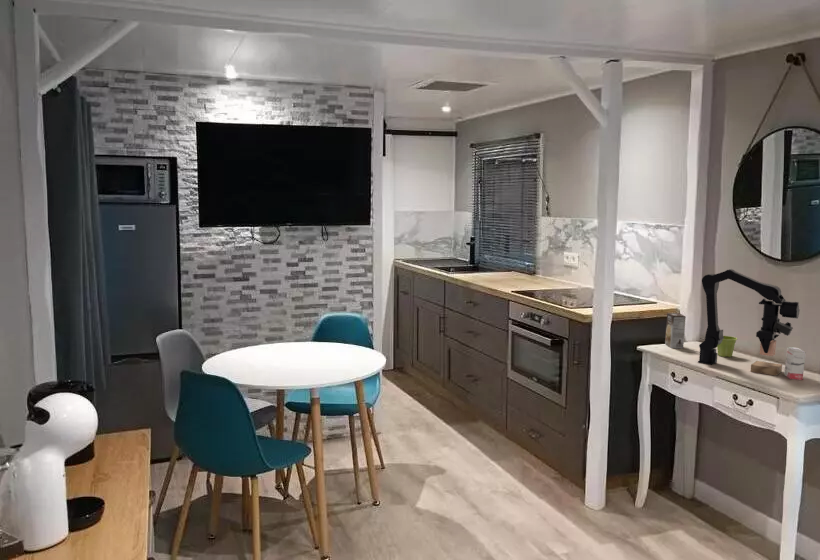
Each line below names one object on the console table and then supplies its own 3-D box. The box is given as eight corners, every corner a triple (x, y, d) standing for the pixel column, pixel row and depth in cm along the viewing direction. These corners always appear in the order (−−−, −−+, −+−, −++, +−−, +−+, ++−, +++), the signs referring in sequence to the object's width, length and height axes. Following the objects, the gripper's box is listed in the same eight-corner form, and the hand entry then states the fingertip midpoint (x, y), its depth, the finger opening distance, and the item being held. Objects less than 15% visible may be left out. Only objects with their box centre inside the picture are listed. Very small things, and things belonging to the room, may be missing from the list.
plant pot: (730, 359, 324) (731, 340, 323) (710, 355, 332) (711, 337, 331) (739, 356, 331) (740, 338, 330) (719, 352, 338) (720, 334, 337)
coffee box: (664, 344, 355) (666, 312, 353) (677, 344, 355) (679, 313, 353) (670, 348, 346) (673, 315, 344) (684, 348, 346) (686, 316, 344)
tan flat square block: (750, 371, 300) (751, 364, 300) (756, 367, 308) (756, 360, 308) (776, 375, 294) (777, 368, 294) (781, 371, 302) (782, 364, 302)
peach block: (759, 354, 300) (760, 340, 299) (762, 352, 304) (763, 338, 303) (772, 356, 297) (773, 342, 296) (775, 354, 301) (776, 340, 300)
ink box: (803, 380, 287) (806, 351, 286) (790, 379, 288) (792, 350, 287) (796, 375, 296) (799, 347, 294) (783, 374, 297) (786, 346, 295)
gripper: (787, 320, 286) (783, 358, 288) (796, 315, 301) (793, 351, 303) (757, 317, 293) (754, 354, 295) (767, 312, 308) (764, 347, 309)
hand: (767, 351), depth 300 cm, fingers closed on peach block, 5 cm apart
